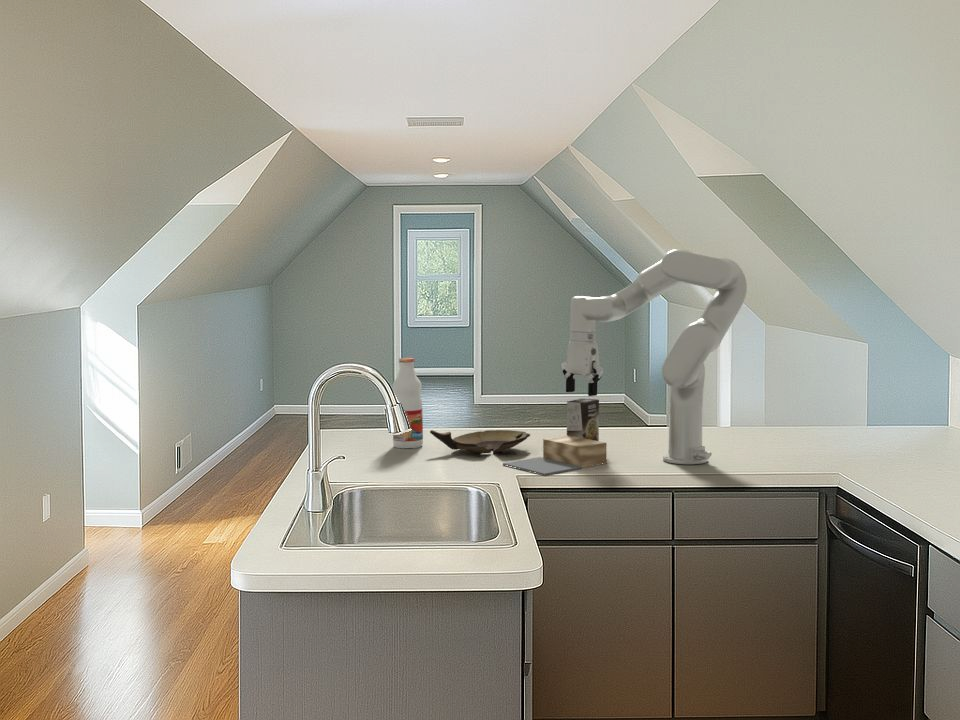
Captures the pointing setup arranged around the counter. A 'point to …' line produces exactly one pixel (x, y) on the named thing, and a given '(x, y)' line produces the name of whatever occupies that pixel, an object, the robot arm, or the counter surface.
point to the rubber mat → (543, 466)
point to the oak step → (575, 450)
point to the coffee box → (583, 418)
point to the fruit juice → (409, 404)
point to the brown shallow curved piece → (483, 440)
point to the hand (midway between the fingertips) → (581, 393)
